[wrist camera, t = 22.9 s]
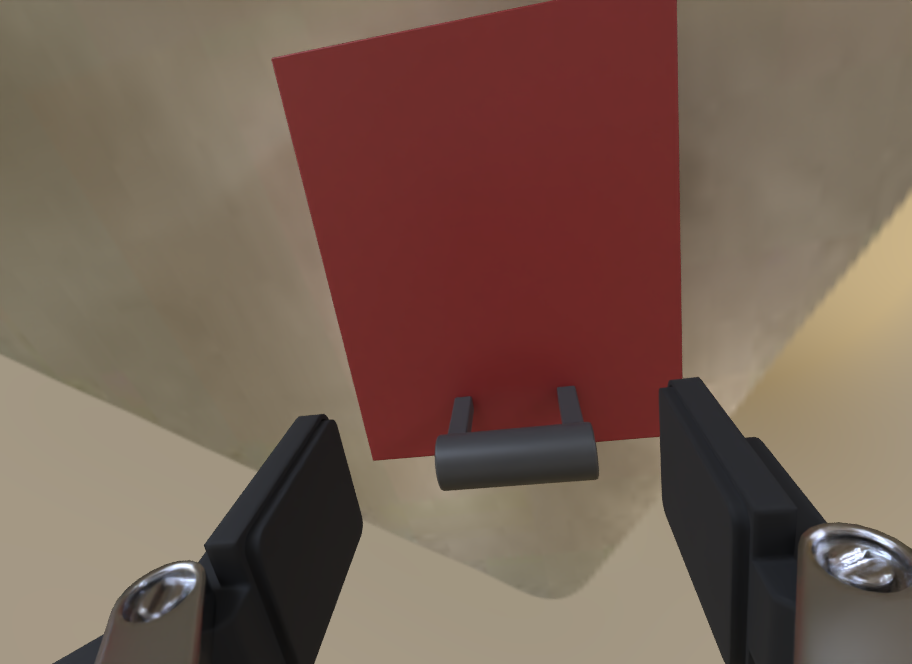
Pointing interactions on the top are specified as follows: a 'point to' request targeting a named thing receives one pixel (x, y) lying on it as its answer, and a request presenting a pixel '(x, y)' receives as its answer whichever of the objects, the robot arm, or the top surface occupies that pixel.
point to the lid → (500, 231)
